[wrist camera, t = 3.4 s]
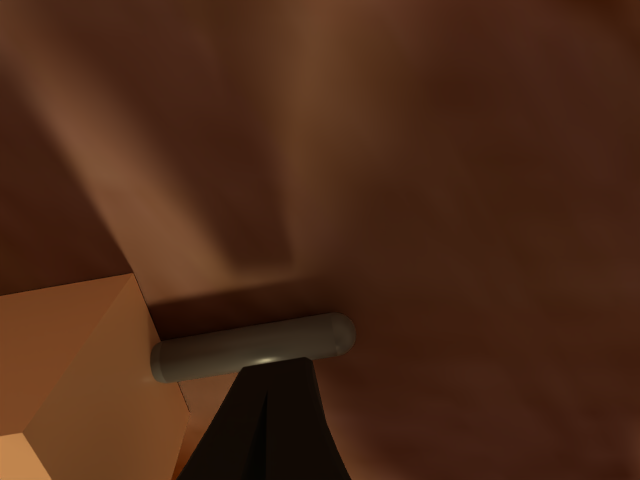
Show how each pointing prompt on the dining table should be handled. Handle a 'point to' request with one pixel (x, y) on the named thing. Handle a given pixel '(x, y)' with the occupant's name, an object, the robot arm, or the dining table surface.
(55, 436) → the tan handled block
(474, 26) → the dining table surface
